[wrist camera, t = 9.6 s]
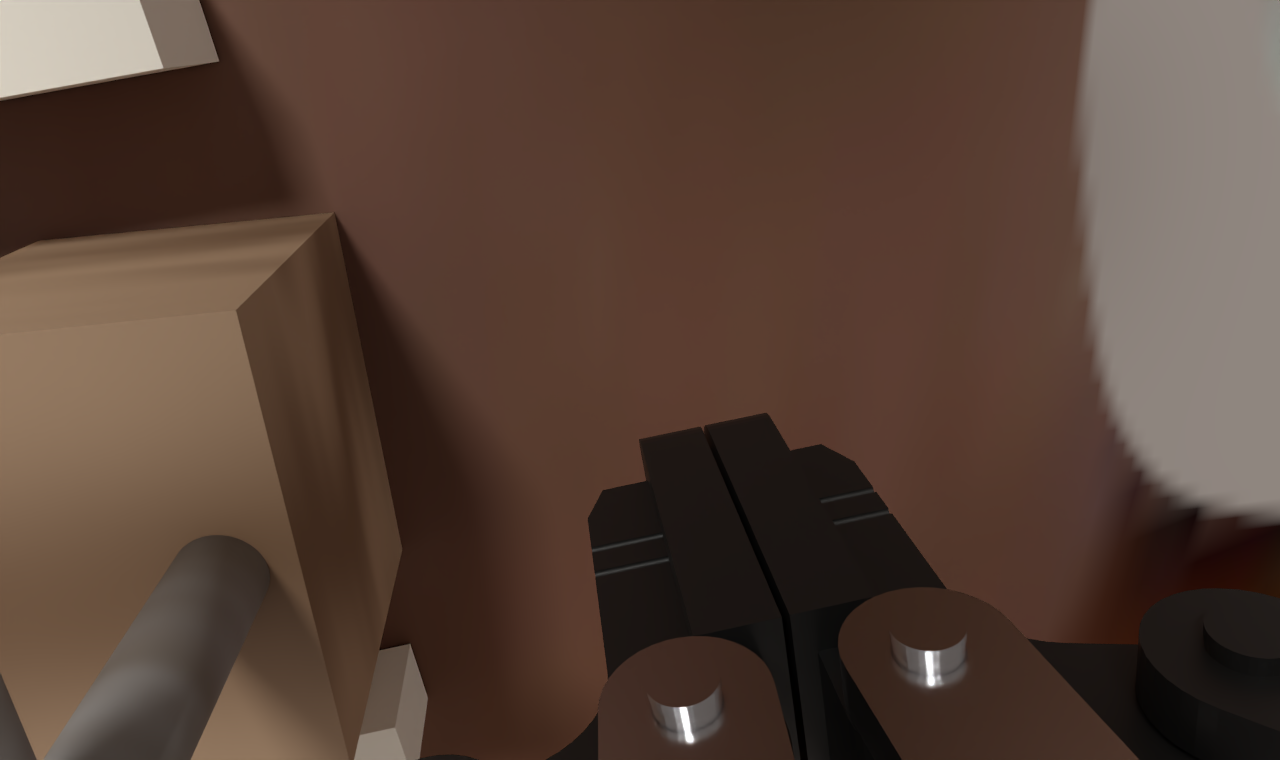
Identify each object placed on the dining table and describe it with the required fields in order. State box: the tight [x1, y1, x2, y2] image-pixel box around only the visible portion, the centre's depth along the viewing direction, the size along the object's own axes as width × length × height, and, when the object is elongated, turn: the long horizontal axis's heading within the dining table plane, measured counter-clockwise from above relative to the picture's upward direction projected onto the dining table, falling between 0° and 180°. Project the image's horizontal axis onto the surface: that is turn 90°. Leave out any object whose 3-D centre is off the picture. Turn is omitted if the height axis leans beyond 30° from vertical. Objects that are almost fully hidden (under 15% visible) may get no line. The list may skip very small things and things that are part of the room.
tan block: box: [0, 212, 402, 760], centre depth 12 cm, size 7×5×12 cm
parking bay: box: [0, 0, 428, 760], centre depth 15 cm, size 15×8×3 cm, turn 10°
